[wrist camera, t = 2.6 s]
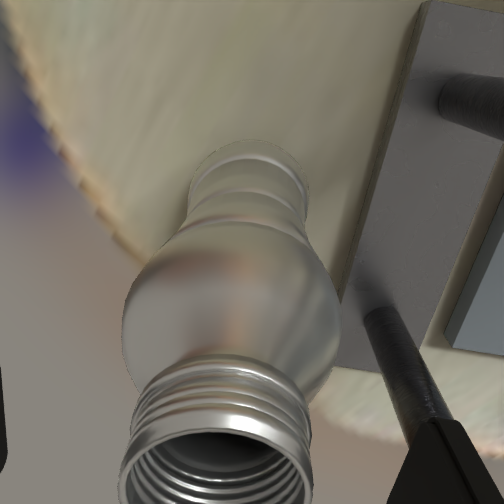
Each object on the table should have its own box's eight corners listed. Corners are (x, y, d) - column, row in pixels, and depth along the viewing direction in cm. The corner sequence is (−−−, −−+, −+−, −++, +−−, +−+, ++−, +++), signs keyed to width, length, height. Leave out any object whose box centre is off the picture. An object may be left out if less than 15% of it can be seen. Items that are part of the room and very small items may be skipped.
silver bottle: (326, 197, 26) (464, 523, 8) (237, 256, 28) (187, 630, 10) (263, 107, 24) (262, 275, 6) (172, 177, 26) (-41, 469, 8)
